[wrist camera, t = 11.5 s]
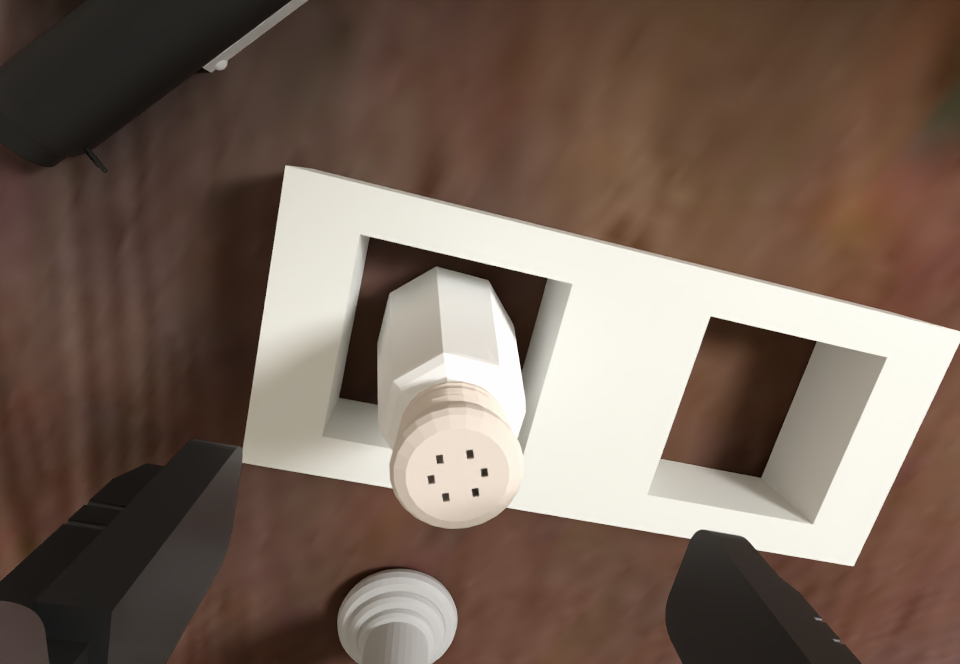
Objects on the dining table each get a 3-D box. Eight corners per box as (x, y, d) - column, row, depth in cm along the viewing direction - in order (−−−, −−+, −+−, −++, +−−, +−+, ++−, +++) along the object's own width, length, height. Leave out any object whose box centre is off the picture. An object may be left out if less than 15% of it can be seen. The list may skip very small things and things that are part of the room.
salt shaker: (388, 405, 22) (348, 606, 12) (365, 274, 21) (295, 369, 10) (519, 386, 23) (596, 567, 12) (506, 256, 21) (579, 330, 10)
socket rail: (886, 310, 23) (964, 332, 20) (797, 515, 25) (853, 566, 22) (310, 168, 20) (285, 165, 16) (270, 419, 22) (240, 462, 19)
